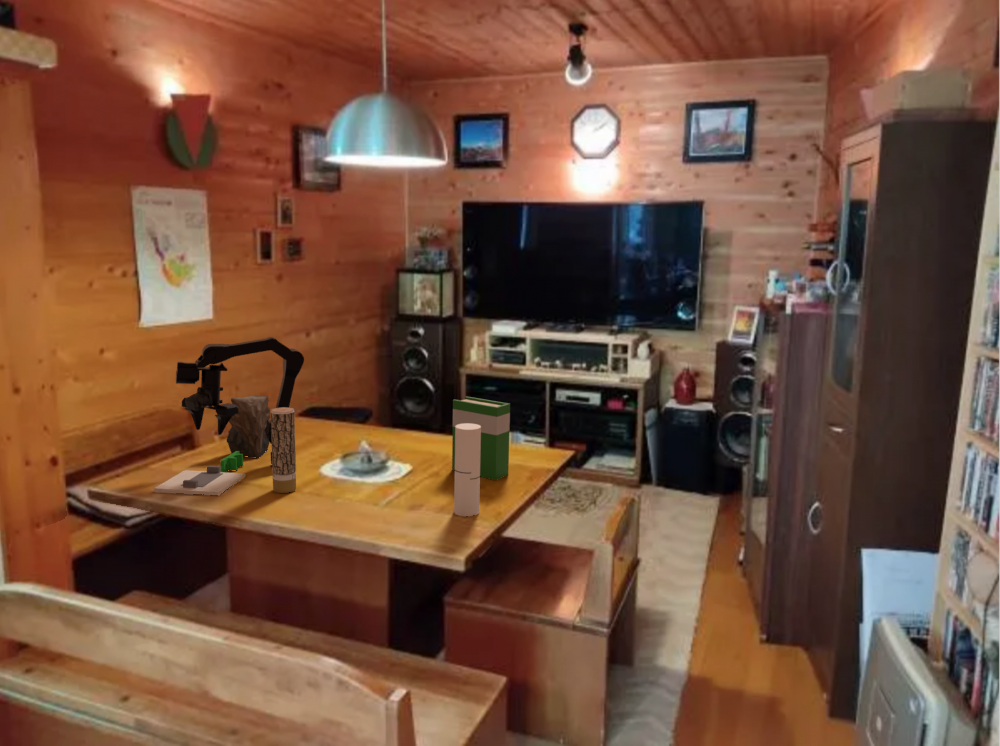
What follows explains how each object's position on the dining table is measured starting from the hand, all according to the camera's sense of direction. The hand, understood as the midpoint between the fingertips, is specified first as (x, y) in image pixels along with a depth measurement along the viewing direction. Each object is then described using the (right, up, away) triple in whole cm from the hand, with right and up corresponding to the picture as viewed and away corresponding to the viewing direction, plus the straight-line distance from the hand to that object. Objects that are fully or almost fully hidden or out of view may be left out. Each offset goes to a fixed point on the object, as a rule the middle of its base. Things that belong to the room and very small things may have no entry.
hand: (208, 432), depth 243 cm
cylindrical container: (+84, -21, -27) cm, 90 cm away
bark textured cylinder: (+28, -17, -13) cm, 35 cm away
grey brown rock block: (+6, -10, +24) cm, 27 cm away
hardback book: (+86, -14, +9) cm, 88 cm away
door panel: (+1, -15, -9) cm, 18 cm away
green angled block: (+5, -13, +7) cm, 16 cm away
